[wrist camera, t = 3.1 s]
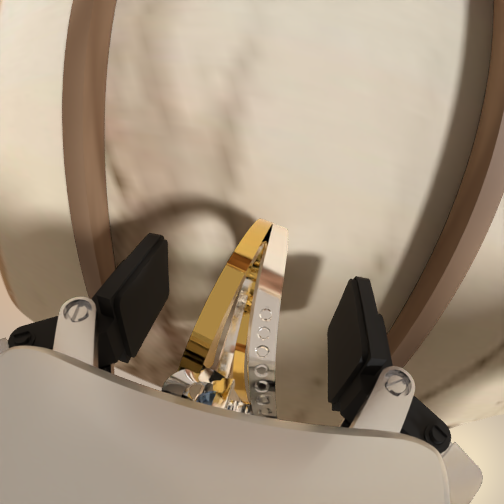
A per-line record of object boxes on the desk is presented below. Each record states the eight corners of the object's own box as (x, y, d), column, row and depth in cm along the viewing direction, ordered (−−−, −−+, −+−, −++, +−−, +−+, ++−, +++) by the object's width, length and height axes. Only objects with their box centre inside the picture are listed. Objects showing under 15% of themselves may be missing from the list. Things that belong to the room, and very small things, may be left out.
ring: (268, 323, 15) (239, 473, 8) (209, 304, 15) (153, 447, 8) (324, 205, 11) (342, 395, 4) (245, 177, 11) (153, 340, 4)
